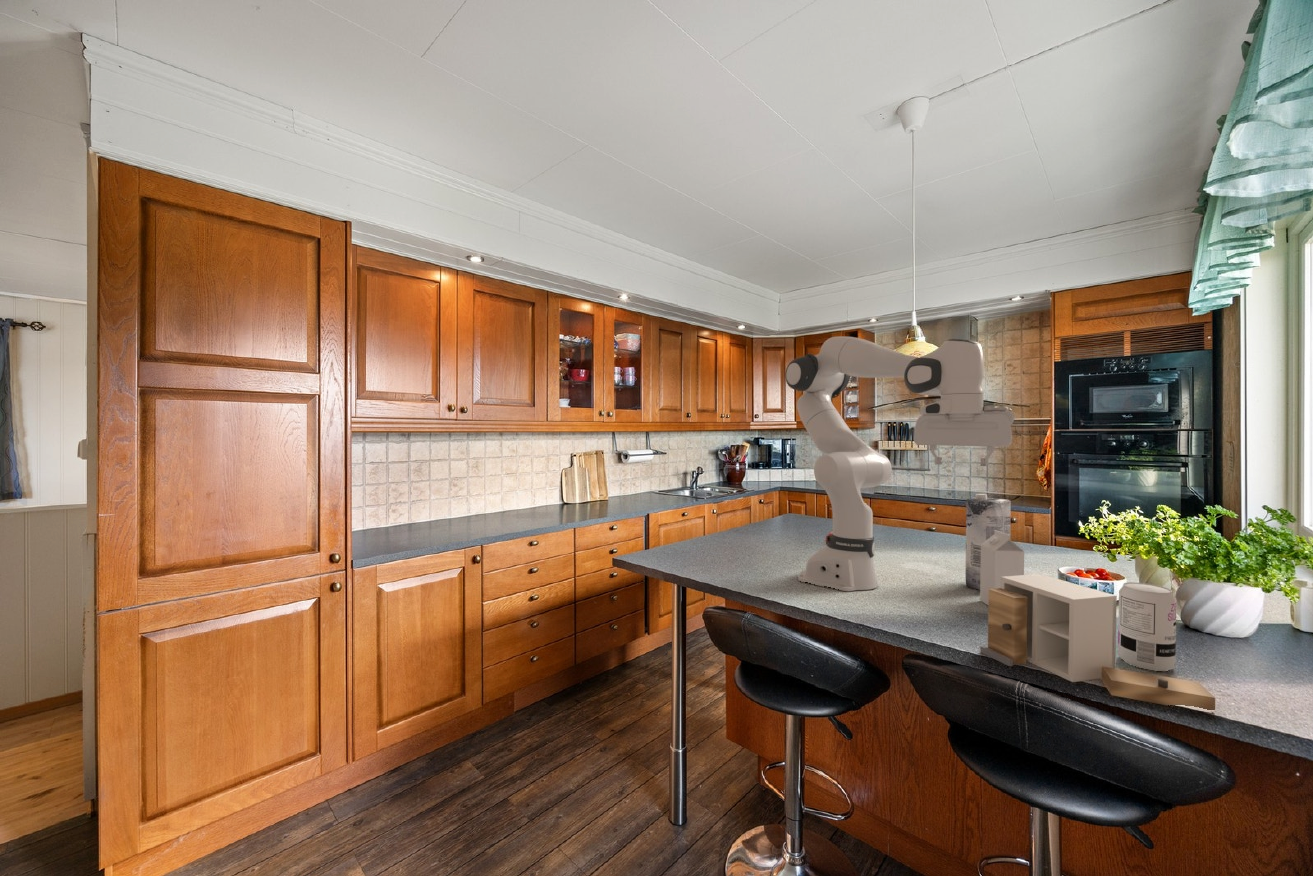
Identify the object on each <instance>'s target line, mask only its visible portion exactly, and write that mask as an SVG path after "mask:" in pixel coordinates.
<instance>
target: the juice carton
mask: <svg viewBox="0 0 1313 876" xmlns="http://www.w3.org/2000/svg"><path fill="white" fill-rule="evenodd" d="M1011 504H1012V501H1011V500H1009V499H1004V498H996V497H989V496H988V494H987V493H976V494H975V498H966V499H965V505H966V507H965V508H966V513H965V515H966V516H965V519H966V521H965V571H964V572H965V573H964V574H965V585H966V587H968V588H971V589H975V590H978V591H980V569H981V544H982V543H984V542H985V541H986V540H988V539H989V538H990V537H991V536H993V535H994V534H995V530H997V531H1000V532H1002V533H1005V534H1008V535H1010V536H1011V507H1012V505H1011Z"/></svg>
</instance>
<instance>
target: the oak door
mask: <svg viewBox="0 0 1313 876" xmlns="http://www.w3.org/2000/svg"><path fill="white" fill-rule="evenodd" d="M987 606H988V611H987V612H988V613H987V614H988V617H987V619H988V620H987V622H988V623H987V648H989V649H991V650H993V651H995V652H998V653H1000V654H1002V655H1004V656H1006V657H1008V658H1010V659H1012V660H1013V666H1015V665H1016V666H1017V665H1024V664H1027V661H1026V651H1027V597H1026V596H1023V595H1020V594H1017V593H1014V592H1011V591H1008V590H1005V589H1002V588H996V589H989V605H987Z"/></svg>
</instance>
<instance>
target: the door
mask: <svg viewBox="0 0 1313 876" xmlns="http://www.w3.org/2000/svg"><path fill="white" fill-rule="evenodd" d="M1101 682H1102V683H1103V685H1104V687H1105V688H1106V689H1107V690H1108V693H1109V694H1110V695H1111V696H1113V697H1120V698H1126V699H1131V700H1135V701H1141V702H1147V703H1153V704H1157V705H1163V706H1168V705H1169V706H1170V705H1185V706H1194V707H1199V708H1203V709H1207V710H1215V711H1216V696H1214V695H1213V694H1212V693H1211V692H1210V691H1209V690H1208V689H1207V688H1206V687H1205V686H1203V684H1202V683H1200V682H1199V681H1193V680H1189V679H1181V678H1175V677H1169V676H1163V675H1157V674H1150V673H1144V672H1138V671H1134V670H1127V669H1119V668H1116V667H1115V668H1108V667H1102V678H1101ZM1170 707H1171V706H1170Z"/></svg>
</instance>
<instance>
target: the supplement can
mask: <svg viewBox="0 0 1313 876" xmlns="http://www.w3.org/2000/svg"><path fill="white" fill-rule="evenodd" d="M1177 602H1178V601H1177V598H1176V596H1175V595H1174V593H1173V590H1172V589H1170V588H1168V587H1165V586H1161V585H1157V584H1152V583H1143V582H1135V581H1134V582H1132V581H1131V582H1130V581H1129V582H1124V583H1123V585H1122V587H1121V588H1120V589H1119V590H1118V623H1117V625H1118V627H1117V629H1118V632H1117V635H1118V636H1117V655H1118V657H1119V658H1120V659H1121V660H1122V659H1123V660H1124V661H1125V662H1124V661H1123V660H1122V661H1123V662H1124V663H1126V664H1128V665H1130V664H1131V665H1130V666H1132V665H1133V666H1132V667H1135V666H1136V667H1135V668H1138V667H1139V668H1138V669H1141V668H1145V669H1150V670H1157V671H1166V670H1170V671H1171V670H1174V669H1175V668H1176V654H1177V653H1176V651H1177V649H1176V645H1177V606H1178V605H1177V604H1178V603H1177ZM1145 669H1144V670H1145ZM1150 670H1149V671H1150Z"/></svg>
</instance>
